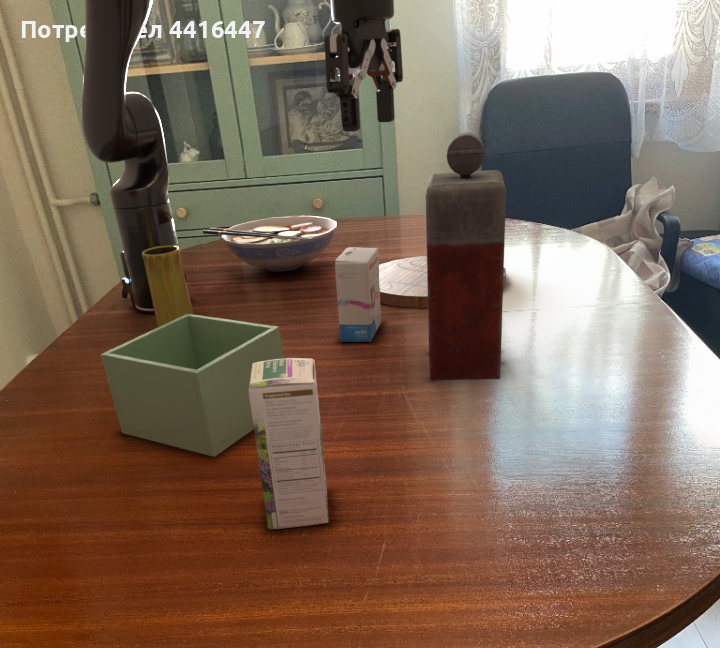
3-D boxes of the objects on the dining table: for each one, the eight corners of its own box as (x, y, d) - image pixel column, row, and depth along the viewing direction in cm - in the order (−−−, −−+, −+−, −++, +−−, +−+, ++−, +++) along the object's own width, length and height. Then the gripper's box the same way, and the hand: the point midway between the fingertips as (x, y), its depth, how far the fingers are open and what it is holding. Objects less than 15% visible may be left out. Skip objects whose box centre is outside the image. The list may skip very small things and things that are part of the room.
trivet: (473, 314, 113) (473, 302, 112) (336, 299, 124) (335, 288, 123) (526, 270, 131) (526, 259, 130) (402, 260, 142) (402, 251, 141)
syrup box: (269, 498, 72) (247, 360, 64) (329, 491, 72) (313, 354, 64) (268, 531, 67) (244, 387, 59) (332, 524, 67) (316, 380, 60)
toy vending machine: (496, 345, 101) (502, 124, 87) (500, 378, 92) (507, 136, 77) (432, 347, 103) (428, 129, 88) (429, 379, 93) (424, 141, 79)
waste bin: (121, 433, 87) (100, 354, 81) (202, 386, 97) (187, 313, 92) (214, 457, 80) (197, 373, 75) (289, 403, 90) (279, 326, 85)
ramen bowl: (367, 256, 147) (364, 214, 142) (300, 289, 131) (294, 243, 127) (270, 247, 159) (265, 208, 155) (198, 277, 143) (190, 234, 139)
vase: (207, 338, 112) (189, 244, 105) (187, 353, 108) (167, 256, 100) (173, 336, 114) (153, 244, 107) (152, 351, 109) (129, 255, 102)
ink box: (372, 343, 106) (367, 261, 100) (339, 342, 107) (332, 261, 101) (383, 322, 113) (378, 245, 107) (351, 322, 114) (345, 245, 108)
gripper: (365, -23, 92) (373, 119, 100) (298, -24, 82) (313, 134, 90) (417, -29, 88) (421, 119, 97) (354, -32, 78) (365, 134, 87)
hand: (369, 126), depth 93 cm, fingers open, 8 cm apart
